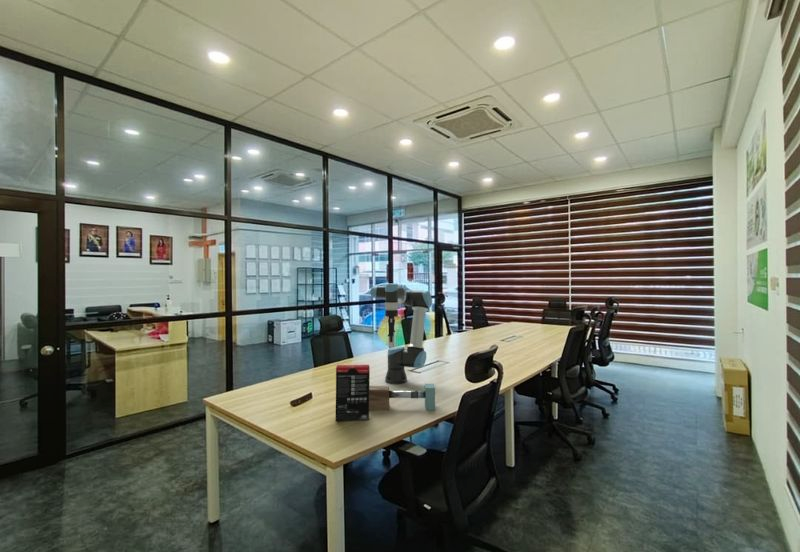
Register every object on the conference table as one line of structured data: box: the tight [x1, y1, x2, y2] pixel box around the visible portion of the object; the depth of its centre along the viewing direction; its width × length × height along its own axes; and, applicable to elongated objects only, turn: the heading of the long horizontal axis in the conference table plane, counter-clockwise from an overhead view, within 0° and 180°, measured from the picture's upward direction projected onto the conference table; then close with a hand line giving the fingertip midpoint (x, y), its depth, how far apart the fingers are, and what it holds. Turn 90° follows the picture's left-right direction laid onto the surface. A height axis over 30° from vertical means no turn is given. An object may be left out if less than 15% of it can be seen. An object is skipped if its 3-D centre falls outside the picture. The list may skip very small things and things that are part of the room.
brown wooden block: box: [369, 385, 390, 411], centre depth 201 cm, size 7×12×11 cm, turn 90°
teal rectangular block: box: [424, 383, 436, 411], centre depth 201 cm, size 8×5×12 cm, turn 0°
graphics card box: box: [335, 364, 371, 422], centre depth 185 cm, size 17×7×27 cm, turn 96°
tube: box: [389, 389, 426, 399], centre depth 201 cm, size 26×4×4 cm, turn 90°
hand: (391, 345), depth 215 cm, fingers open, 13 cm apart
